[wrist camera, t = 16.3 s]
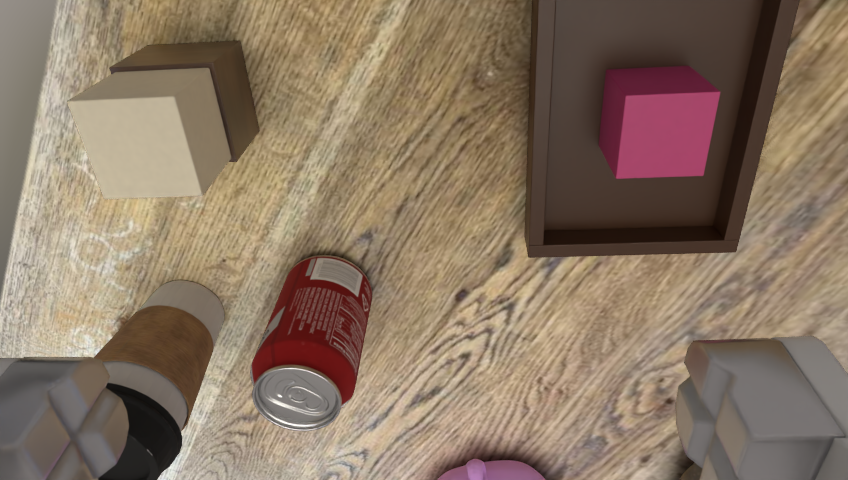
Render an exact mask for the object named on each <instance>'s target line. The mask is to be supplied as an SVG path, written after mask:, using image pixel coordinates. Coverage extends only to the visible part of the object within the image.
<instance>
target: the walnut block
mask: <svg viewBox="0 0 848 480" xmlns="http://www.w3.org/2000/svg"><path fill="white" fill-rule="evenodd" d="M190 68H209V69H210V73H211V77H212V81H213V85H214V89H215V93H216V97H217V101H218V105H219V109H220V113H221V117H222V121H223V126H224V130H225V134H226V138H227V142H228V146H229V150H230V154H231V159H230V161H229V162H237V161H238V159H239V158H240V157H241V155H242V154H243V153H244V151H245V150H246V148H247V147H248V146H249V144H250V143H251V142H252V140H253V139H254V138H255V136H256V135H257V134H258V132H259V127H258V122H257V117H256V113H255V108H254V103H253V99H252V94H251V89H250V85H249V80H248V75H247V71H246V66H245V61H244V57H243V52H242V47H241V43H240V41H221V42H202V43H183V44H163V45H147V46H146V47H144V48H142V49H141V50H139V51H137V52H135V53H134V54H132V55H130V56H129V57H127V58H125V59H123V60H122V61H120V62H118V63H117V64H115V65H113V66H111V67H110V68H109V69H110V71H111V74H113V73H115V72H129V71H149V70H170V69H190Z"/></svg>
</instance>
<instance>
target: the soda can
mask: <svg viewBox="0 0 848 480" xmlns="http://www.w3.org/2000/svg"><path fill="white" fill-rule="evenodd" d="M371 301H372V288H371V285H370V282H369V280H368V278H367V277H366V275H365V274H364V273H363V271H362V270H361V269H360V268H358V267H357V266H356V265H355V264H353V263H351V262H350V261H348V260H345V259H343V258H340V257H336V256H330V255H318V256H312V257H309V258H306V259H304V260H302V261H300V262H299V263H297V264H296V265H295V266H294V267H293V268H292V269H291V270H290V272H289V274H288V276H287V278H286V281H285V283H284V285H283V288H282V290H281V293H280V295H279V298H278V300H277V303H276V305H275V308H274V310H273V312H272V315H271V317H270V320H269V322H268V325H267V327H266V330H265V332H264V335H263V337H262V339H261V342H260V344H259V347H258V349H257V352H256V354H255V357H254V359H253V362H252V365H251V371H250V374H251V381H252V384H253V386H254V387H253V392H252V398H253V402H254V404H255V407H256V408H257V410H258V411H259V412H260V414H261V415H262V416H264V417H265V418H266V419H267V420H269V421H270V422H272V423H273V424H275V425H278V426H280V427H283V428H286V429H290V430H295V431H312V430H317V429H320V428H323V427H325V426H327V425H329V424H330V423H332V422H333V421H334V420H335V419H336V417H337V416H338V414H339V412H340V409H341V408H342V407H343V406H345V405H346V404H347V403H348V401H349V400H350V399H351V397H352V395H353V393H354V390H355V385H356V380H357V375H358V369H359V364H360V359H361V353H362V348H363V343H364V338H365V332H366V327H367V322H368V317H369V311H370V306H371Z"/></svg>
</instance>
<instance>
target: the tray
mask: <svg viewBox="0 0 848 480" xmlns="http://www.w3.org/2000/svg"><path fill="white" fill-rule="evenodd" d="M799 1H800V0H532V24H531V54H530V85H529V115H528V146H527V176H526V207H525V241H526V247H527V252H528V257H529V258H533V257H571V256H610V255H648V254H686V253H725V252H736V250H737V246H738V242H739V239H740V235H741V231H742V227H743V223H744V219H745V215H746V211H747V207H748V203H749V199H750V195H751V191H752V187H753V183H754V179H755V175H756V171H757V167H758V163H759V159H760V155H761V151H762V148H763V144H764V140H765V136H766V132H767V128H768V124H769V120H770V116H771V112H772V108H773V104H774V100H775V96H776V92H777V88H778V84H779V80H780V76H781V72H782V68H783V64H784V60H785V56H786V52H787V48H788V44H789V40H790V37H791V33H792V29H793V25H794V21H795V17H796V13H797V9H798V5H799ZM674 66H690V67H692V68H693V69H694V70H695V71H696V72H698V73H699V74H700V75H701V76H702V77H704V78H705V79H706V80H707V81H708V82H709V83H711V84H712V85H713V86H714V87H715V88H717V89H718V90H719V91H720V97H719V102H718V107H717V111H716V116H715V121H714V126H713V131H712V136H711V141H710V146H709V151H708V156H707V161H706V166H705V171H704V175H703V176H683V177H653V178H623V179H616V178H615V176H614V174H613V172H612V170H611V168H610V166H609V164H608V162H607V161H606V159H605V157H604V155H603V153H602V151H601V149H600V147H599V135H600V125H601V115H602V105H603V95H604V85H605V75H606V70H608V69H630V68H652V67H674Z"/></svg>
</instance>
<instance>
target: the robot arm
mask: <svg viewBox="0 0 848 480" xmlns="http://www.w3.org/2000/svg"><path fill="white" fill-rule="evenodd" d="M684 363H685V365H686V367H687V370H688V372H689V374H690V377H689V378H688V379H686V380H685V381H684V382H683V383H682V384H681V385H679V387H678V392H677V398H676V403H675V407H676V424H677V428H678V433H679V437H680V440H681V443H682V446H683V448H684V451H685V454H686V456H687V457H688V458H690V459H691V460H692V461H693V462H695V463H696V464H697V465H698V466H700V467H701V468H702V473H701V477H700V480H848V373H847V372H846V371H845V370H844V368H843V367H842V366H841V364H840V363H839V362H838V360H837V359H836V358H835V357H834V355H833V354H832V353H831V351H830V350H829V349H828V348H827V346H826V345H825V344H824V343H823V342H822V341H821V340H819V339H818V338H816V337H814V336H799V337H774V338H771V339H769V338H755V339H727V340H698V341H693V342H692V343H691V344H690V346H689V347H688V349H687V353H686V357H685V361H684ZM109 379H110V375H109V373H108V371H107V369H106V367H105V366H104V364H103V362H102V360H101V359H96V358H92V357H24V358H0V480H98V478H99V477H101V476H102V475H103V474H104V473H106V472H107V471H108V470H109V469H111V468H112V467H113V466H115V465H116V464H117V462H118V460H119V458H120V456H121V454H122V452H123V450H124V448H125V445H126V440H127V434H128V429H129V421H128V414H127V410H126V407H125V405H124V403H123V401H122V399H121V398H120V397H119V396H117V395H116V394H114V393H113V392H111V391H110V390H108V389H107V388H106V385H107V383H108V381H109Z"/></svg>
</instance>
